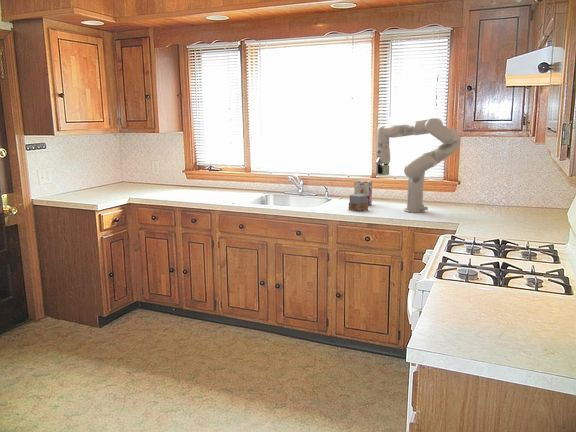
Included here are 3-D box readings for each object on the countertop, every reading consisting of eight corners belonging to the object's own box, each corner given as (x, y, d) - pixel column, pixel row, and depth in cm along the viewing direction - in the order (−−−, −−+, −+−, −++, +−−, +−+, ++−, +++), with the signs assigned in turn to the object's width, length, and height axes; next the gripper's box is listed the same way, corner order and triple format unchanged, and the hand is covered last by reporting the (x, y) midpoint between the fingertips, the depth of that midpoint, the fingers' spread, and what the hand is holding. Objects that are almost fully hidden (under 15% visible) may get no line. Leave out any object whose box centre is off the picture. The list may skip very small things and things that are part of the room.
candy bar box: (371, 204, 348) (372, 181, 345) (369, 205, 344) (370, 181, 341) (356, 203, 354) (356, 180, 350) (353, 204, 349) (354, 180, 346)
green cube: (389, 174, 331) (389, 165, 330) (384, 175, 326) (384, 166, 325) (381, 174, 335) (381, 165, 333) (376, 174, 330) (376, 165, 329)
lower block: (368, 210, 329) (368, 202, 328) (360, 212, 323) (360, 204, 322) (356, 208, 335) (356, 201, 334) (348, 210, 329) (348, 203, 328)
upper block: (367, 202, 328) (367, 195, 327) (359, 204, 323) (359, 196, 322) (357, 201, 334) (357, 193, 333) (349, 202, 328) (349, 195, 327)
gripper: (381, 146, 318) (380, 174, 321) (395, 144, 331) (394, 172, 334) (371, 145, 323) (370, 174, 326) (385, 144, 336) (384, 171, 339)
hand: (382, 172), depth 330 cm, fingers closed on green cube, 6 cm apart
